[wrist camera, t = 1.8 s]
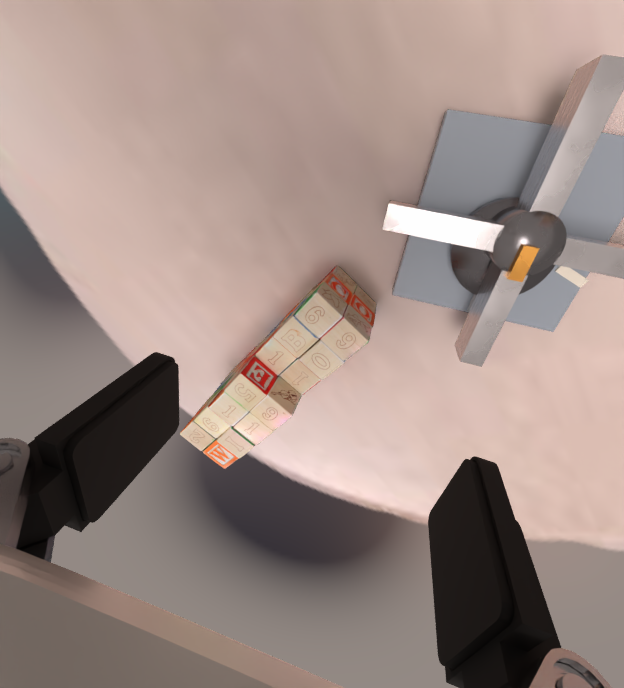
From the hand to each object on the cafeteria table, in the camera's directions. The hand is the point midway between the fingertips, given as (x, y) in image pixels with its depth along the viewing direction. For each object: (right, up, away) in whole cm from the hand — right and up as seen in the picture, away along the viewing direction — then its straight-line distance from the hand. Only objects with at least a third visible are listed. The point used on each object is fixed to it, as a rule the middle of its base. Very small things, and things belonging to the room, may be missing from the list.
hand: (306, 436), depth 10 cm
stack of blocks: (-2, +3, +29) cm, 30 cm away
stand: (+17, +13, +18) cm, 28 cm away
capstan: (+16, +12, +16) cm, 26 cm away
